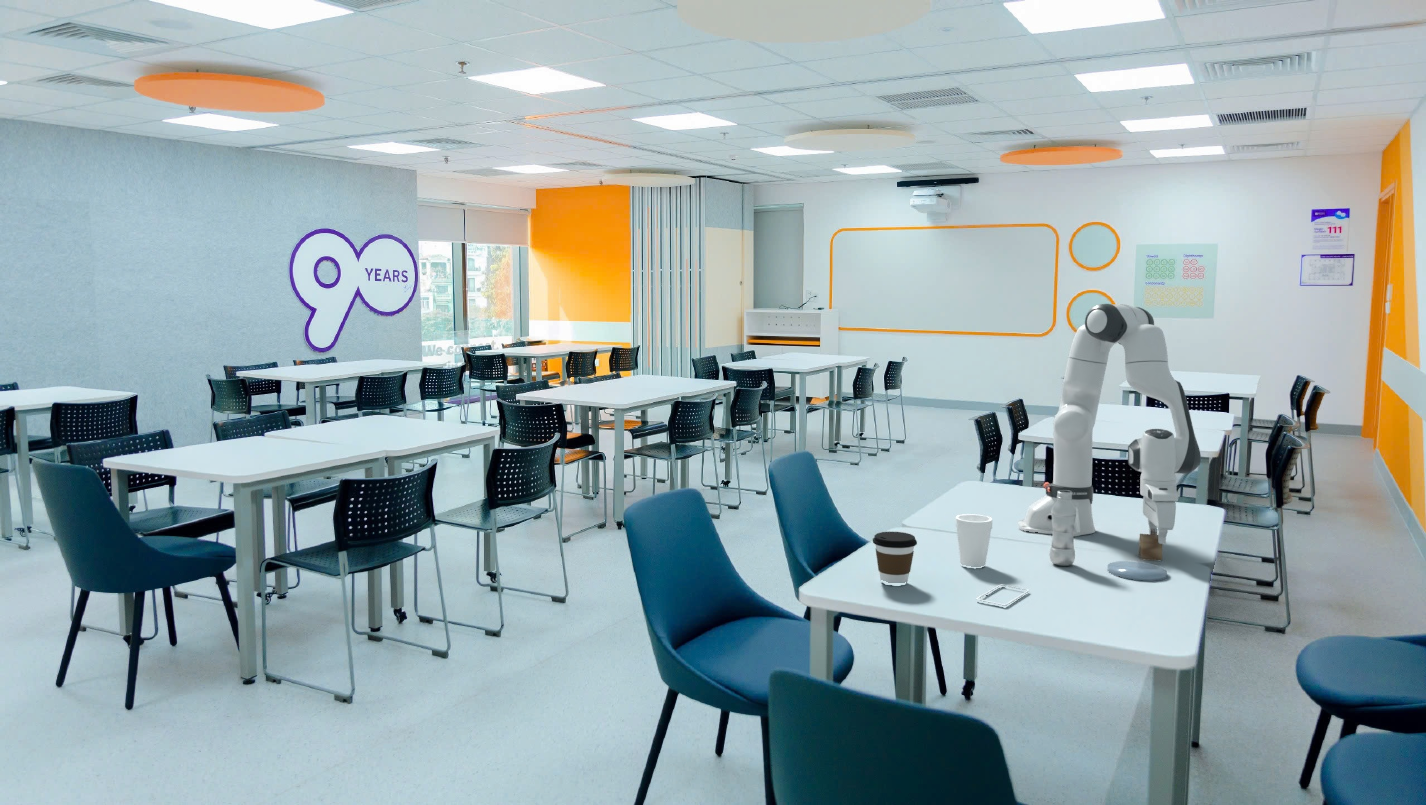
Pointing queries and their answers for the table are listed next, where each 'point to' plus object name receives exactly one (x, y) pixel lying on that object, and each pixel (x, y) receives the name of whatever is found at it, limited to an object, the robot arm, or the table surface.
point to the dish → (1137, 570)
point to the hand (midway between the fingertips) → (1157, 538)
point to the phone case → (1008, 602)
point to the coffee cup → (894, 555)
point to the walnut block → (1150, 547)
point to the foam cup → (973, 538)
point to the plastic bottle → (1063, 529)
